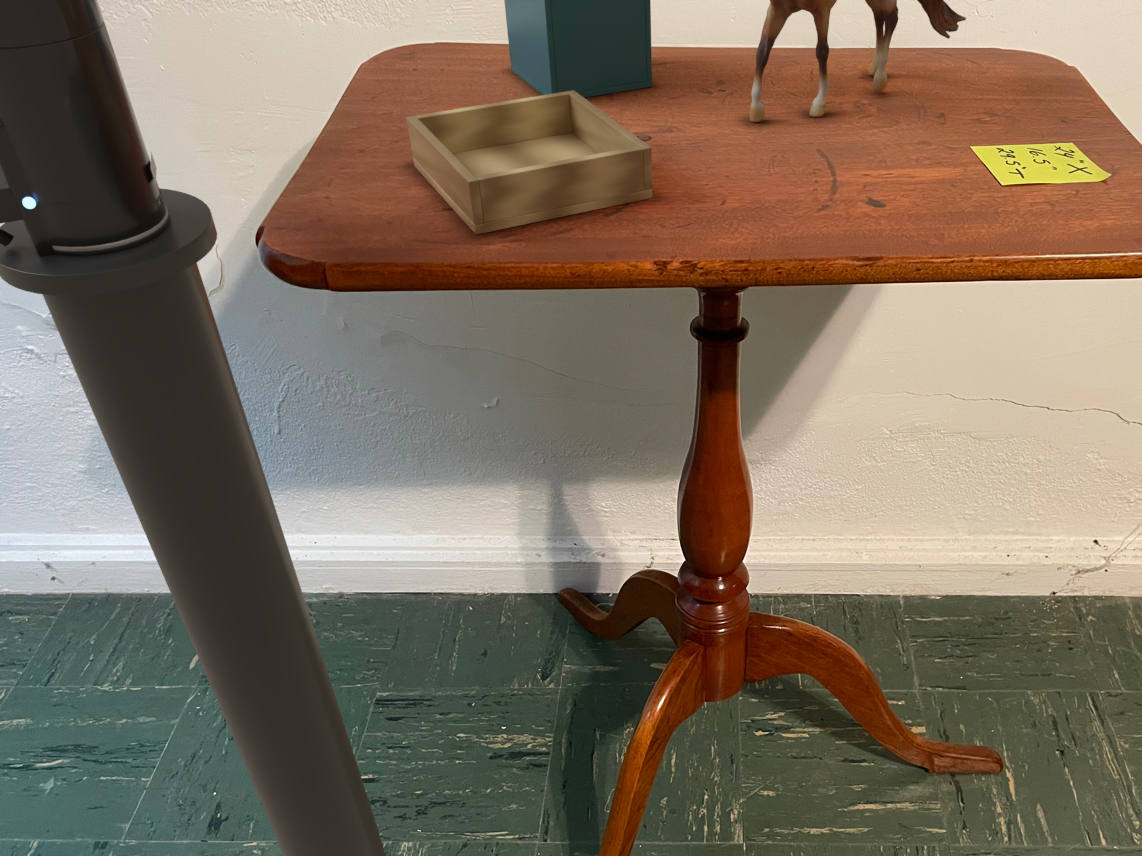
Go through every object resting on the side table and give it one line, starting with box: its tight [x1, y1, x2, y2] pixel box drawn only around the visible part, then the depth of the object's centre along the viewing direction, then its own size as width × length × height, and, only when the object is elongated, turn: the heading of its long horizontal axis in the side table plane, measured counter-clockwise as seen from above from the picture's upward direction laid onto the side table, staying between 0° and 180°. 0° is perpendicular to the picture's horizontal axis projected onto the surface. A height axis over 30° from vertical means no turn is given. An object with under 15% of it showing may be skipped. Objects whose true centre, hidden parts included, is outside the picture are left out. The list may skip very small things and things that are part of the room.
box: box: [405, 90, 653, 235], centre depth 91 cm, size 16×16×4 cm
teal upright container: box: [504, 0, 653, 99], centre depth 110 cm, size 11×11×11 cm
